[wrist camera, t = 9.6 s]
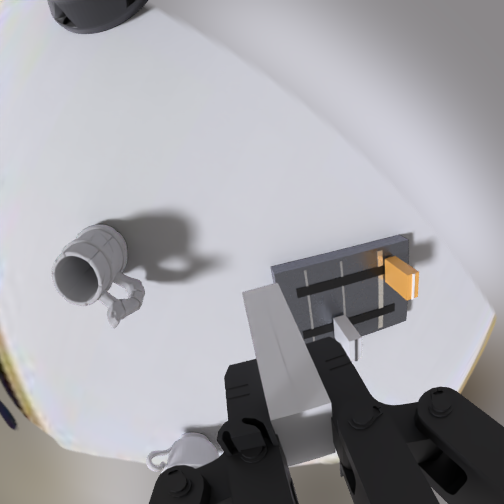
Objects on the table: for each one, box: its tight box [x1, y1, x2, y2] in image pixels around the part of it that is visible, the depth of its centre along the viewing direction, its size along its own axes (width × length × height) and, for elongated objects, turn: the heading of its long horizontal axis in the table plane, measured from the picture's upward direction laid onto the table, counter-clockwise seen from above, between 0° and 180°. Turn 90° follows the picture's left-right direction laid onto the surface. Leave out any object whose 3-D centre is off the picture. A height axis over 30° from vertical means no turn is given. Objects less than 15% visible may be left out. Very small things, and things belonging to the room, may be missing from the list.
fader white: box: [333, 315, 362, 362], centre depth 40 cm, size 4×2×6 cm, turn 11°
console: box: [271, 235, 409, 344], centre depth 43 cm, size 14×20×3 cm
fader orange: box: [385, 256, 419, 300], centre depth 38 cm, size 4×2×6 cm, turn 11°
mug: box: [52, 225, 145, 328], centre depth 33 cm, size 8×12×12 cm, turn 47°
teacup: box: [146, 432, 219, 472], centre depth 47 cm, size 12×15×10 cm
